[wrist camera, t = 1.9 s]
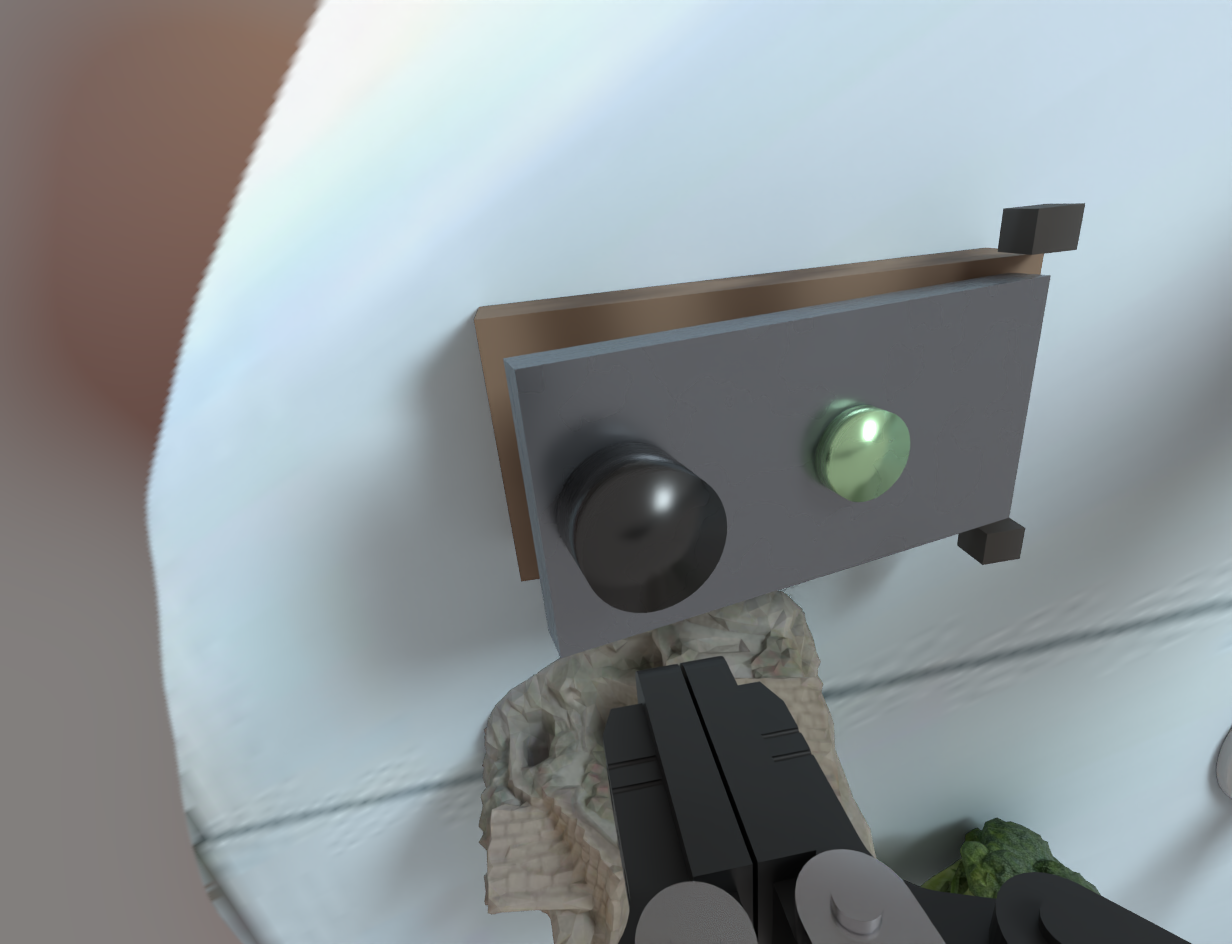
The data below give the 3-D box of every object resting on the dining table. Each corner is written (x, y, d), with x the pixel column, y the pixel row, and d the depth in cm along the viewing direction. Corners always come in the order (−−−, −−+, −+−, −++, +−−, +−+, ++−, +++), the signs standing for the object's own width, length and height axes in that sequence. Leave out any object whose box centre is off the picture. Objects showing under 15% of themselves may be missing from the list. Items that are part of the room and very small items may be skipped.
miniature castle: (849, 599, 31) (1078, 927, 17) (732, 828, 37) (830, 1205, 23) (536, 531, 28) (505, 854, 14) (465, 790, 34) (395, 1192, 20)
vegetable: (817, 842, 34) (1164, 879, 28) (839, 783, 46) (1089, 801, 40) (842, 1111, 31) (1231, 1214, 26) (858, 977, 43) (1130, 1026, 37)
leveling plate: (1009, 272, 22) (1127, 281, 19) (976, 502, 26) (1069, 545, 22) (503, 358, 17) (536, 391, 14) (548, 630, 21) (584, 711, 17)
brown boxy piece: (992, 204, 24) (1090, 202, 20) (952, 508, 30) (1024, 557, 25) (471, 261, 22) (460, 273, 18) (526, 575, 28) (528, 640, 23)
